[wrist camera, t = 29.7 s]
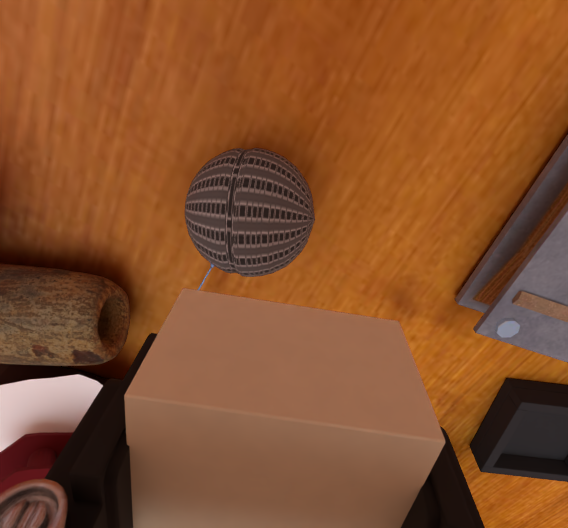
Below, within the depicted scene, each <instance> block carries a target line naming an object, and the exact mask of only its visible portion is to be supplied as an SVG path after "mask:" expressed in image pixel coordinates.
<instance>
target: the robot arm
mask: <svg viewBox="0 0 568 528" xmlns="http://www.w3.org/2000/svg"><path fill="white" fill-rule="evenodd" d="M157 335H158V334H154V333H151V334H150V335H149V336H148V337H147V339H146V341H145V343H144V344H143V346H142V348H141V350H140V351H139V353H138V355H137V356H136V358H135V360H134V362H133V363H132V365H131V367H130V369H129V370H128V372H127V374H126V375H125V377H124V379H123V380H119V379H111V378H110V379H109V380H107V381H106V383H105V384H104V385H103V387H102V388H101V390H100V391H99V393H98V394H97V396H96V398H95V399H94V401H93V402H92V404H91V406H90V407H89V409H88V410H87V412H86V413H85V415H84V417H83V418H82V420H81V421H80V423H79V425H78V426H77V428H76V429H75V431H74V432H73V434H72V436H71V437H70V439H69V440H68V442H67V443H66V445H65V447H64V448H63V450H62V451H61V453H60V455H59V456H58V458H57V459H56V461H55V462H54V464H53V466H52V467H51V469H50V470H49V472H48V473H47V475H46V477H45V478H44V479H32V480H28V481H25V482H21V483H19V484H17V485H15V486H13V487H11V488H9V489H7V490H5V491H4V492H3V493H1V494H0V528H133V513H132V492H131V470H130V448H129V446H128V445H127V440H126V420H125V400H124V395H125V393H126V391H127V390H128V388H129V386H130V384H131V382H132V380H133V379H134V377H135V375H136V373H137V371H138V369H139V368H140V366H141V364H142V362H143V360H144V358H145V357H146V355H147V353H148V351H149V349H150V348H151V346H152V344H153V342H154V340H155V338H156V337H157ZM440 428H441V431H442V433H443V436H444V438H445V444H444V446H443V448H442V450H441V452H440V454H439V456H438V458H437V460H436V462H435V464H434V466H433V468H432V469H431V471H430V473H429V475H428V477H427V479H426V481H425V483H424V485H423V486H422V487H421V489H420V491H419V493H418V495H417V497H416V499H415V501H414V503H413V505H412V506H411V508H410V510H409V512H408V514H407V516H406V518H405V520H404V522H403V524H402V526H401V528H485V527H484V525H483V522H482V520H481V517H480V515H479V512H478V510H477V507H476V505H475V502H474V500H473V497H472V495H471V492H470V490H469V487H468V485H467V482H466V480H465V477H464V475H463V472H462V470H461V467H460V465H459V462H458V460H457V457H456V455H455V452H454V450H453V447H452V445H451V442H450V440H449V437H448V435H447V433H446V431H445V430H444V429H443V428H442V427H440Z"/></svg>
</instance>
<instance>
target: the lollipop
mask: <svg viewBox="0 0 568 528" xmlns="http://www.w3.org/2000/svg"><path fill="white" fill-rule="evenodd" d="M185 219H186V224H187V229H188V232H189V235H190V237H191V239H192V241H193V243H194V245H195V247H196V248H197V250H198V251H199V252H200V254H201V255H202V256H203V257H204V258H205V259H207V260H208V261H209V262H210V263H211V268H212V267H214V266H216V267H217V268H219V269H221V270H223V271H225V272H228V273H238V274H240V275H242V276H246V277H254V276H263V275H266V274H271V273H274V272H276V271H278V270H280V269H282V268H284V267H286V266H287V265H288V264H290V263H291V262H292V261H293V260H294V259H295V258H296V257H297V256H298V255H299V254H300V252H301V251H302V250H303V248H304V247H305V245H306V243H307V241H308V238H309V235H310V232H311V229H312V226H313V223H314V220H315V217H314V209H313V200H312V194H311V191H310V189H309V186H308V184H307V182H306V181H305V179H304V177H303V176H302V174H301V173H300V171H299V170H298V169H297V168H296V166H294V165H293V164H292V163H291V162H289V161H288V160H287V159H286V158H284V157H283V156H281V155H279V154H276V153H274V152H272V151H269V150H265V149H260V148H254V149H249V150H244V149H241V148H236V149H232V150H229V151H226V152H224V153H222V154H220V155H218V156H216V157H215V158H213V159H211V160H210V161H209V162H207V163H206V164H205V165H204V166H203V167H202V168H201V170H200V171H199V172H198V173H197V175H196V176H195V178H194V179H193V181H192V183H191V185H190V188H189V191H188V193H187V197H186V203H185ZM211 268H210V269H209V271H208V273H207V275H208V274H209V272H210V270H211ZM207 275H206V276H205V278H204V280H205V279H206V277H207ZM204 280H203V282H204ZM203 282H202V283H201V285H200V287H201V286H202V284H203ZM200 287H199V288H198V290H199V289H200Z"/></svg>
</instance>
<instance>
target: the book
mask: <svg viewBox="0 0 568 528" xmlns="http://www.w3.org/2000/svg"><path fill="white" fill-rule="evenodd" d="M455 301H456V302H457V304H459V305H462V306H465V307H468V308H471V309H474V310H477V311H480V312H483V313H484V315H483V316H482V317H481V319H480V320H479V322H478V323H477V324H476V326H475V327H474V328H473V329H474V331H475V332H476V333H478V334H481V335H484V336H487V337H490V338H494V339H497V340H500V341H503V342H506V343H509V344H512V345H515V346H518V347H521V348H525V349H528V350H531V351H534V352H537V353H540V354H543V355H546V356H549V357H553V358H556V359H559V360H562V361H565V362H568V134H567V136H566V137H565V139H564V140H563V142H562V143H561V145H560V146H559V148H558V149H557V150H556V152H555V153H554V155H553V156H552V158H551V159H550V161H549V162H548V164H547V165H546V167H545V168H544V169H543V171H542V172H541V174H540V175H539V177H538V178H537V180H536V181H535V183H534V184H533V186H532V187H531V188H530V190H529V191H528V193H527V194H526V196H525V197H524V199H523V200H522V202H521V203H520V205H519V206H518V207H517V209H516V210H515V212H514V213H513V215H512V216H511V218H510V219H509V221H508V222H507V224H506V225H505V226H504V228H503V229H502V231H501V232H500V234H499V235H498V237H497V238H496V240H495V241H494V243H493V244H492V245H491V247H490V248H489V250H488V251H487V253H486V254H485V256H484V257H483V259H482V260H481V262H480V263H479V264H478V266H477V267H476V269H475V270H474V272H473V273H472V275H471V276H470V278H469V279H468V281H467V282H466V283H465V285H464V286H463V288H462V289H461V291H460V292H459V294H458V295H457V297H456V298H455Z"/></svg>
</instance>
